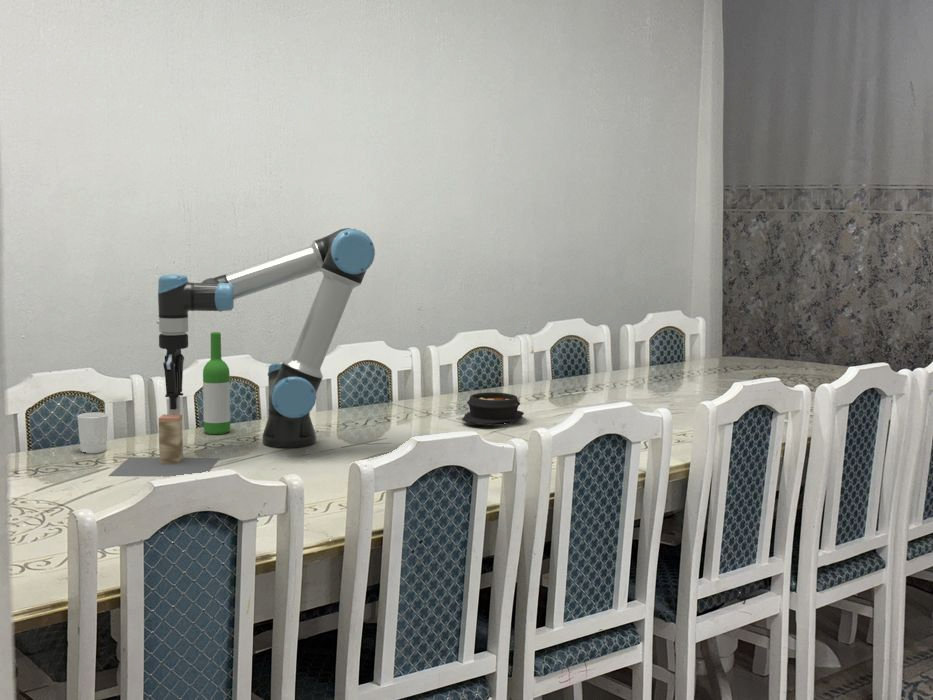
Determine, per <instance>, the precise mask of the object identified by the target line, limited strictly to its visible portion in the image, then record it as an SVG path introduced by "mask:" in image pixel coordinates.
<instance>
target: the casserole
mask: <svg viewBox="0 0 933 700" xmlns="http://www.w3.org/2000/svg"><path fill="white" fill-rule="evenodd" d="M466 403H467V405H468V409H469V411H468V412H466V413H465V414H464V416H463V417H462V418H461V420H462V421H463V422H466V423H471V424H478V425H485V424H504V423H509V424H511V423H510V422H512V423H513V422H516V421H520V420H521V419H522V418H523V415H524V414H525V412H524V411H521V410H518V408H519V406H520V405H521V402H520V401H519V400H518V396H517V395H515V394H512V393H511V394H510V393H507V392H491V391H490V392H478V393H473V394H470V397H469V399H468V400H467V402H466ZM504 425H505V424H504Z"/></svg>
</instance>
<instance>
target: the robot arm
mask: <svg viewBox="0 0 933 700" xmlns="http://www.w3.org/2000/svg"><path fill="white" fill-rule="evenodd" d="M375 255H376V250H375V245H374V242H373V240H372V239H371V237H370V236H369V235H367V233H365V232H364V231H362V230H360V229H356V228H349V227H347V228H341V229H339V230H336V231H334V232H331V233H330V234H329V235H326V236H323V237H321V238H319V239H316V240H312V243H311V244H310V245H309V246H306V247H303V248H300V249H297V250H294V251H291V252H288V253H285V254H282V255H279V256H276V257H273V258H270V259H267V260H263V261H260V262H258V263H254V264H252V265H248V266H245V267H242V268H239V269H236V270H233V271H230V272H227V273H225V274H222V275H218V276H215V277H210V278H206V279H204V280H202V282H191V281H189V279H188V276H187V275H185V274H162V275H161V276H159V277H158V284H157V285H158V287H157V289H158V291H157V297H158V299H157V301H158V302H157V304H158V306H157V308H158V320H157V321H156V324H157V325H158V331H159V333H160V334H158V347H159V349H162V350H166V355H164V362H163V371H164V379H165V392H166V393H165V398H168V415H181V397H182V396H184V393H183V379H184V378H183V377H184V375H183V373H184V361H185V356H184V355H183V354H182V350H184V349H187V348H188V347H189V335H188V332H189V311H191V312H198V311H199V312H228V311H232V310H233V309H234V307H235V300H237V299H240V298H243V297H245V296H249V295H252V294H256V293H257V292H261V291H264V290H268V289H269V288H273V287H277V286H280V285H282V284H285V283H288V282H291V281H295V280H297V279H300V278H303V277H306V276H309V275H312V274H316V273H318V272H321V273H322V274H323V275H322V276H323V277H322V280H321V283H320V285H319V287H318V290H317V292H316V295H315V297H314V299H313V302H312V304H311V307H310V309H309V311H308V315H307V317H306V319H305V321H304V325H303V326H302V329H301V332H300V335H299V337H298V339H297V341H296V343H295V346H294V349H293V351H292V353H291V357H289V358H287V359H285V360H283V361H282V363H272V364H270V365H269V366H268V370H267V371H268V372H267V377H268V379H267V380H268V385H267V386H268V416H267V421H266V424H265V427H264V430H263V433H262V445H265V446H268V447H272V448H273V447H274V448H282V449H283V448H286V449H287V448H289V449H290V448H291V449H292V448H301V447H307V446H311V445H314V444H315V443H316V442H317V434H316V431H315V429H314V425H313V421H312V419H311V415H310V413H311V411H312V409H313V408H314V407H315V404H316V401H317V392H318V390H319V388H320V385H321V383H322V381H323V378H324V375H323V373H322V371H321V368H322V366H323V364H324V360H325V358H326V357H327V356H326V355H327V353H328V351H329V348H330V346H331V344H332V341H333V338H334V336H335V333H336V331H337V330H338V329H337V328H338V327H339V324H340V322H341V319H342V316H343V314H344V311H345V308H346V307H347V305H348V301H349V300H350V298H351V297H350V296H351V294H352V292H353V289H355V288H357V287H359V286H361V284H362V282H363V280H364V277H365V275H366V272H367V271H368V269H370V268H371V266H372V265H373V262H374V260H375Z"/></svg>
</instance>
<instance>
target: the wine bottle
mask: <svg viewBox="0 0 933 700" xmlns="http://www.w3.org/2000/svg"><path fill="white" fill-rule="evenodd" d="M221 336H222V334H221V332H217V331H213V332H210V360H208V361H207V362H206V364H205V365H204V367H203V369H202V397H203V398H202V401H203V402H202V403H203V413H202V414H203V430H204V433H206V434H208V435H224V433H225V434H227V432H228V433H229V432H230V431H231V389H230V388H231V386H230V385H231V384H230V382H231V380H230V368H229V366H228V365H227V363H226V362H225V360H223V359H222V338H221Z"/></svg>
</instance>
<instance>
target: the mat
mask: <svg viewBox="0 0 933 700" xmlns="http://www.w3.org/2000/svg"><path fill="white" fill-rule="evenodd" d="M220 459H221V457H183V459H182V461H181V462H180V463H160V462H159V456H158V457H154V456H153V457H150V456H148V457H143V456H140V457H139V456H137V457H134V456H132V457H131V456H129V457H128V458H127V459H125V460H124V461H123V462H122V463H121V464H120V465H119V466H118V467H116V468H115V469H114V470H113V471H112V472H111V473H110V474H109V475H108V477H161V476H162V477H166V478H167V477H169V478H170V476H176V475H184V474H192V473H202V472H206V471H211V470H213V468H214V467H215V465H216V464H217V462H218V461H219V460H220Z"/></svg>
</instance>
